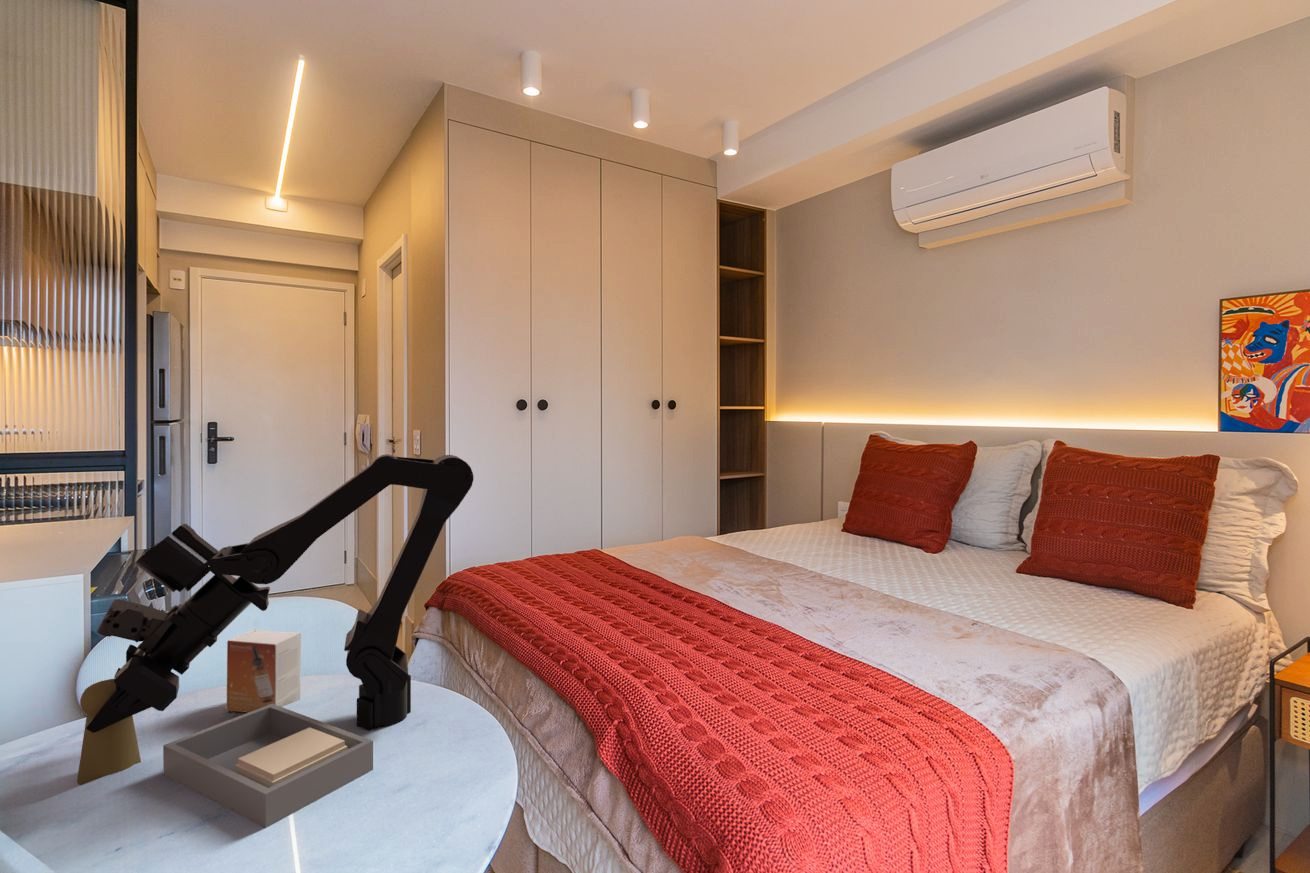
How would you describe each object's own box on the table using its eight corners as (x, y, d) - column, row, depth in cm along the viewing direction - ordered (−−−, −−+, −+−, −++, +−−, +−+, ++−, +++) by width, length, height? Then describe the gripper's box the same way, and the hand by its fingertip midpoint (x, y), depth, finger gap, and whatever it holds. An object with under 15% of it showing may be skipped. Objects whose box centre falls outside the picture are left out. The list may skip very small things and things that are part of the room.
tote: (272, 736, 90) (272, 703, 90) (373, 777, 80) (373, 740, 80) (163, 782, 79) (163, 745, 78) (265, 837, 69) (265, 794, 69)
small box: (225, 712, 97) (225, 640, 97) (254, 696, 103) (254, 628, 102) (275, 717, 96) (275, 644, 95) (301, 700, 101) (301, 631, 101)
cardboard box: (310, 757, 83) (310, 726, 83) (347, 772, 80) (347, 740, 79) (235, 793, 75) (235, 758, 75) (273, 811, 72) (272, 775, 72)
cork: (105, 789, 77) (103, 695, 77) (63, 782, 78) (61, 689, 78) (154, 762, 83) (153, 674, 83) (114, 756, 84) (113, 670, 84)
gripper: (157, 561, 90) (49, 657, 85) (137, 594, 74) (3, 715, 69) (227, 611, 94) (129, 705, 89) (223, 652, 78) (103, 770, 73)
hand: (94, 721), depth 80 cm, fingers closed on cork, 5 cm apart
